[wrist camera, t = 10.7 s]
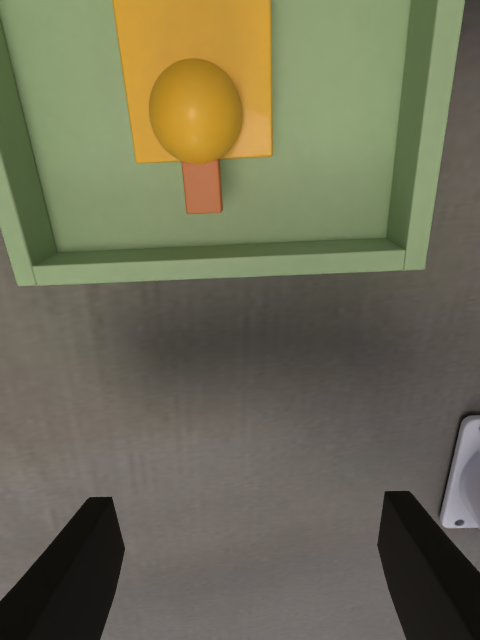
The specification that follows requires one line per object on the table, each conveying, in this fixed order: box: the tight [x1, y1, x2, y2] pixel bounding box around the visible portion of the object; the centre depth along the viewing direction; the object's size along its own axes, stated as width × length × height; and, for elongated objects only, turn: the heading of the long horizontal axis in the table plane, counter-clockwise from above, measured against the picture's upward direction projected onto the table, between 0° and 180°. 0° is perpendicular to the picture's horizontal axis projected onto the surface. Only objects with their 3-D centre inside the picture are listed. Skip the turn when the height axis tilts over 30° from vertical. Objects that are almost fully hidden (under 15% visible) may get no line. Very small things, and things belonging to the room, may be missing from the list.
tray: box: [0, 0, 465, 286], centre depth 13 cm, size 16×15×3 cm
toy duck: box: [112, 0, 273, 214], centre depth 11 cm, size 9×4×5 cm, turn 3°
